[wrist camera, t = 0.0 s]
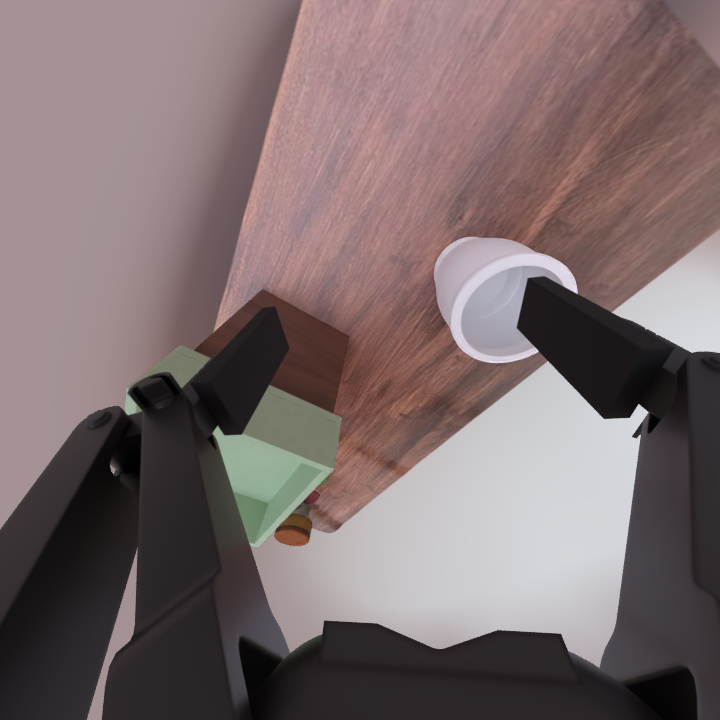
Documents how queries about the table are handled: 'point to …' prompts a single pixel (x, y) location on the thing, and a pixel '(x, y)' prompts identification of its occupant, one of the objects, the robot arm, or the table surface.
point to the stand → (293, 350)
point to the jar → (491, 294)
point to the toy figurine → (297, 523)
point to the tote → (266, 449)
